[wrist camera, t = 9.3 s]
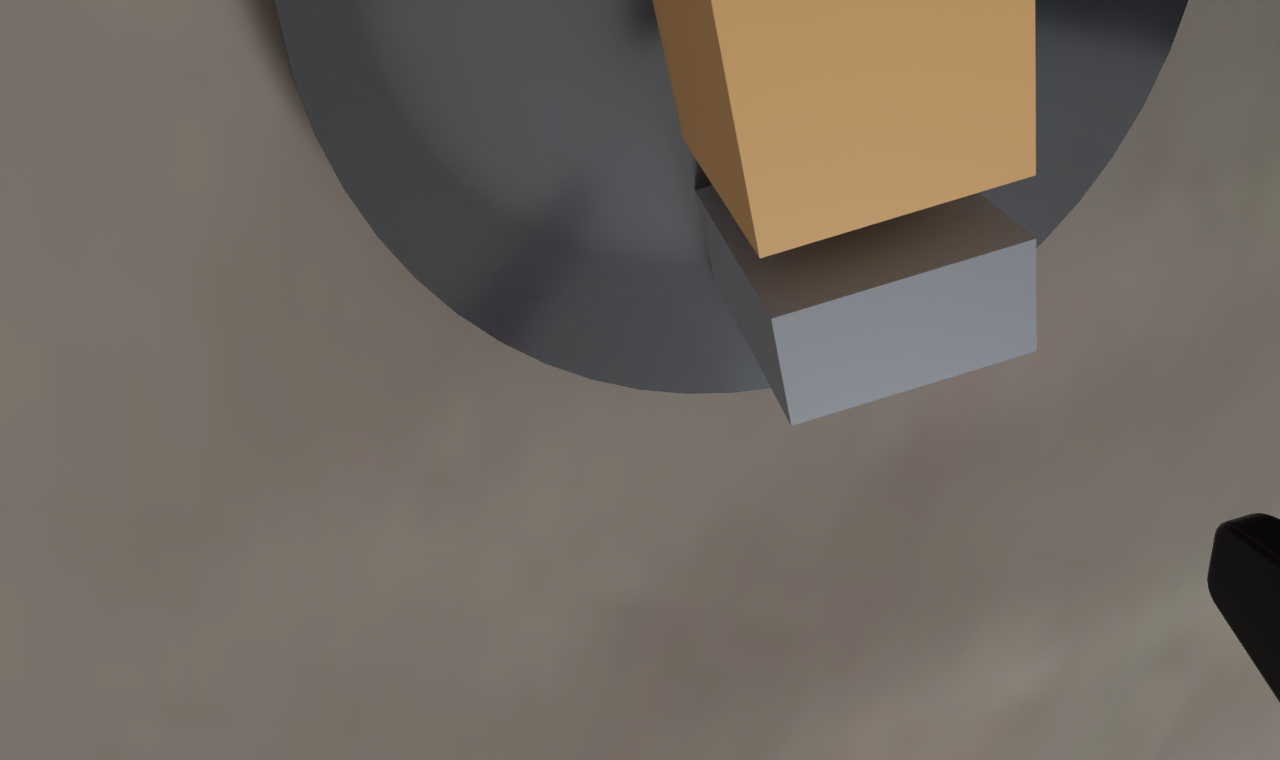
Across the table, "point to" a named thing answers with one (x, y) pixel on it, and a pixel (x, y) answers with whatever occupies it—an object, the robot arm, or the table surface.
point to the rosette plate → (617, 163)
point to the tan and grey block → (861, 184)
